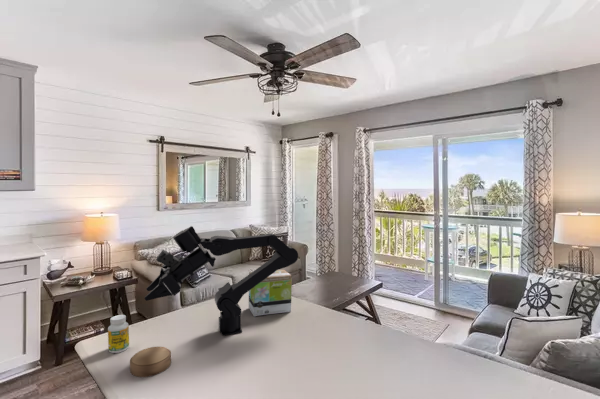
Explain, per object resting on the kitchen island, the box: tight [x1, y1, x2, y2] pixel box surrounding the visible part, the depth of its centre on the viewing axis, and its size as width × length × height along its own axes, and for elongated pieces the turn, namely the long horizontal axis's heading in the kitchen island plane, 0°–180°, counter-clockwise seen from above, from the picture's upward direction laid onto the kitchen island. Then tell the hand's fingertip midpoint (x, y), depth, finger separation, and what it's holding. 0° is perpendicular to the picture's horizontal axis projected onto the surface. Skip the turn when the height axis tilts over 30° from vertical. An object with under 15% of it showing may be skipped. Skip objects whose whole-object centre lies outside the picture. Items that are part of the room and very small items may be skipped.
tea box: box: [248, 269, 293, 317], centre depth 125 cm, size 15×10×15 cm
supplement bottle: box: [107, 314, 130, 354], centre depth 95 cm, size 5×5×10 cm
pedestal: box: [129, 346, 172, 378], centre depth 86 cm, size 10×10×3 cm
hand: (146, 294), depth 97 cm, fingers open, 9 cm apart
